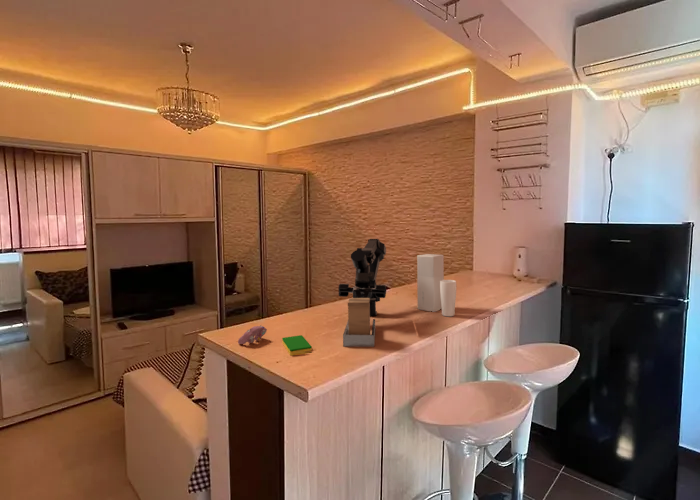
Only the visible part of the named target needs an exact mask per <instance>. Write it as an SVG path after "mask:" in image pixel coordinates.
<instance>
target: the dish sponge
mask: <svg viewBox="0 0 700 500" xmlns="http://www.w3.org/2000/svg"><path fill="white" fill-rule="evenodd" d="M281 340H282V341H281V343H282V345H283V346H284V348H285V350H286V351H287V353H288V354H289V356H291V357H292V356H298V355H305V354H311V353H313V349H312V348H313V346H312V344H310V342H308V341H307V339H306V338H305V337H304V336H303V335H301V334H300V335H294V336H286V337H282V338H281Z"/></svg>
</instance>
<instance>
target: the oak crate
mask: <svg viewBox="0 0 700 500" xmlns="http://www.w3.org/2000/svg"><path fill="white" fill-rule="evenodd" d="M347 311H348V312H347V313H348V314H347V316H348V318H347V322H348V324H349V334H369V335H371V316H370V298H353V297H349V299H348V302H347Z"/></svg>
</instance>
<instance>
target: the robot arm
mask: <svg viewBox="0 0 700 500" xmlns="http://www.w3.org/2000/svg"><path fill="white" fill-rule="evenodd" d="M386 254H387V248H386V245H385V243H383V242H382V241H381V240H380V239H379V238H369V239H368V241H367V243H366V245H365V246H364V247H363V248H362V247H358V248H356V249H355V250H354V251H352V253H351V254H350V259H351V261H352V265H353V268H355V279H354V280H355V281H354V283H355V284H354V286H353V287H350V286H349V283H339V284H338V296H339V297H345V298H346V297H348V296H349V293H350V294H351V293H352V298H370V317H375V316H377V314H378V312H377V307H376V305H377V303H378V302H381V299H385V298H386V296H387V286H386V285H384V284H377V282H376V280H377V276H378V272H379V267H380V262H382V261H383V260H384V259H385V256H386Z"/></svg>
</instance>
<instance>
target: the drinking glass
mask: <svg viewBox="0 0 700 500" xmlns="http://www.w3.org/2000/svg"><path fill="white" fill-rule="evenodd" d="M440 295H441V306H442V309H441V315H442V316H443V317H454V316H455V315H456V314H455V312H456V309H455V308H456V299H457V280H454V279H444V280H441V281H440Z"/></svg>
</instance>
